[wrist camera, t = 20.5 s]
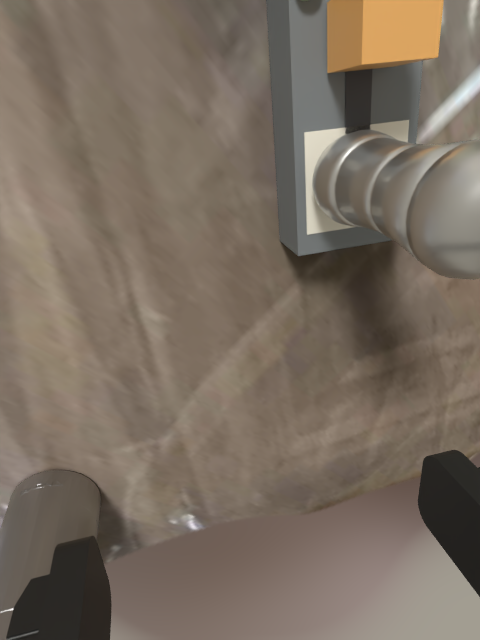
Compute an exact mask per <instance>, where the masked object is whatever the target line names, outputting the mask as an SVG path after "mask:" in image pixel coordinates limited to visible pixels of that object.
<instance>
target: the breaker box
mask: <svg viewBox="0 0 480 640" xmlns="http://www.w3.org/2000/svg"><path fill="white" fill-rule="evenodd" d="M329 1H330V0H266V3H267V21H268V39H269V56H270V74H271V92H272V110H273V127H274V145H275V163H276V181H277V198H278V216H279V234H280V241H281V242H282V243H283V244H284V245H285V246H287V247H288V248H289V249H290V250H291V251H293V252H294V253H295V254H296V255H298V256H302V255H308V254H314V253H320V252H325V251H331V250H337V249H343V248H349V247H355V246H361V245H367V244H373V243H379V242H385V241H391V240H392V239H390V238H388V237H387V236H385V235H383V234H381V233H380V232H378V231H374V230H371V229H368V228H364V227H353V226H348V225H343V224H340V223H337V222H335V221H333V220H332V219H330V218H329V217H328V216H327V215H326V214H325V213H324V212H323V211H322V209H321V208H320V207H319V205H318V204H317V202H316V200H315V197H314V194H313V188H312V178H313V173H314V168H315V166H316V163H317V161H318V159H319V157H320V156H321V154H322V152H323V151H324V150H325V149H326V148H327V147H328V145H330V144H331V143H332V142H333V141H334V140H336V139H338V138H339V137H341V136H343V135H346V134H349V133H352V132H355V131H359V130H375V131H379V132H381V133H384V134H387V135H389V136H392V137H394V138H395V139H397V140H400V141H404V142H408V143H412V144H416V137H417V125H418V113H419V101H420V89H421V77H422V65H423V61H418V62H413V63H409V64H404V65H399V66H395V67H386V68H376V69H366V70H356V71H345V72H335V73H327V2H329Z"/></svg>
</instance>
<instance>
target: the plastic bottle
mask: <svg viewBox="0 0 480 640" xmlns="http://www.w3.org/2000/svg"><path fill="white" fill-rule="evenodd" d="M312 188H313V194H314V197H315V200H316V202H317V204H318V205H319V207H320V208H321V209H322V211H323V212H324V213H325V214H326V215H327V216H328V217H329V218H330V219H332V220H333V221H335V222H337V223H340V224H343V225H348V226H353V227H364V228H368V229H371V230H374V231H378V232H380V233H381V234H383V235H385V236H387V237H388V238H390V239H392V240H393V241H395V242H397V243H398V244H399V245H400V246H402V247H403V248H404V249H405V250H406V251H408V252H409V253H410V254H411V255H412V256H413V257H415V258H416V259H417V260H418V261H420V262H421V263H422V264H423V265H425V266H427V267H428V268H429V269H431V270H432V271H434V272H436V273H437V274H439V275H442V276H445V277H448V278H458V279H473V280H474V279H480V139H475V140H469V141H462V142H455V143H448V144H425V145H423V144H412V143H408V142H404V141H400V140H397V139H395V138H394V137H392V136H389V135H387V134H384V133H381V132H379V131H375V130H359V131H355V132H352V133H349V134H346V135H343V136H341V137H339V138H338V139H336V140H334V141H333V142H332V143H331V144H330V145H328V147H327V148H326V149H325V150H324V151H323V152H322V154H321V156H320V157H319V159H318V161H317V163H316V166H315V168H314V173H313V178H312Z"/></svg>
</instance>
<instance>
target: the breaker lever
mask: <svg viewBox="0 0 480 640" xmlns="http://www.w3.org/2000/svg"><path fill="white" fill-rule="evenodd" d="M442 10H443V0H330V1H329V2H327V73H335V72H345V71H356V70H366V69H376V68H386V67H395V66H399V65H404V64H409V63H413V62H418V61H423V60H428V59H432V58H437V57H438V52H439V42H440V31H441V21H442Z"/></svg>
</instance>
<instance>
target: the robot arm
mask: <svg viewBox="0 0 480 640" xmlns="http://www.w3.org/2000/svg"><path fill="white" fill-rule="evenodd" d="M100 505H101V495H100V492H99V489H98V488H97V486H96V485H95V483H94V482H92V481H91V480H90V479H89V478H87V477H85V476H84V475H82V474H79V473H76V472H72V471H66V470H51V471H45V472H41V473H38V474H35V475H33V476H31V477H29V478H27V479H25V480H24V481H23V482H21V483H20V484H19V485H18V486H17V487H16V489H15V490H14V492H13V494H12V496H11V499H10V502H9V505H8V508H7V511H6V514H5V517H4V520H3V523H2V526H1V528H0V640H110V627H111V626H110V625H111V592H110V585H109V580H108V576H107V573H106V570H105V567H104V564H103V560H102V557H101V554H100V551H99V548H98V544H97V536H98V527H99V516H100ZM418 506H419V510H420V514H421V516H422V519H423V521H424V523H425V524H426V526H427V527H428V529H429V530H430V531H431V533H432V534H433V535H434V537H435V538H436V539H437V541H438V542H439V543H440V545H441V546H442V547H443V549H444V550H445V551H446V553H447V554H448V555H449V557H450V558H451V559H452V560H453V562H454V563H455V565H456V566H457V567H458V568H459V570H460V571H461V573H462V574H463V575H464V577H465V578H466V579H467V581H468V582H469V583H470V585H471V586H472V587H473V588H474V590H475V591H476V592H477V594H478V595H479V597H480V467H479V468H477V467H476V466H475V465H474V464H473V463H472V462H471V461H470V460H469V459H468V458H467V457H466V456H465V455H464V454H462V453H461V452H459V451H457V450H451V451H447V452H443V453H438V454H434V455H430V456H427V457H425V458H424V461H423V467H422V474H421V482H420V488H419V496H418Z"/></svg>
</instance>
